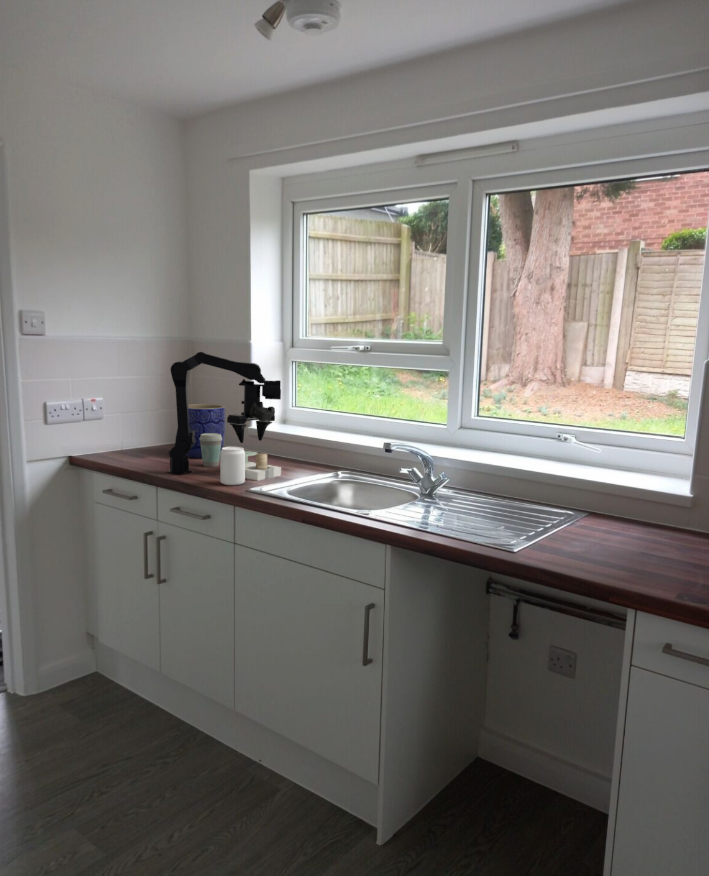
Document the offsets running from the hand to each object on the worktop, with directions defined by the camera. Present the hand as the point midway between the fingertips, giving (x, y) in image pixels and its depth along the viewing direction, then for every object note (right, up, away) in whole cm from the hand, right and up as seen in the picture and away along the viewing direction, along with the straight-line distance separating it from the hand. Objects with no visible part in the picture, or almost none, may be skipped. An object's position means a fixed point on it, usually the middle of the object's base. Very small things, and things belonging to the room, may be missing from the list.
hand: (251, 441), depth 246 cm
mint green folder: (-4, -11, +4) cm, 12 cm away
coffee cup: (-17, -9, +14) cm, 24 cm away
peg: (+4, -12, -4) cm, 14 cm away
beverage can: (-4, -14, -16) cm, 22 cm away
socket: (+1, -12, -1) cm, 12 cm away
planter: (-25, -6, +34) cm, 43 cm away
